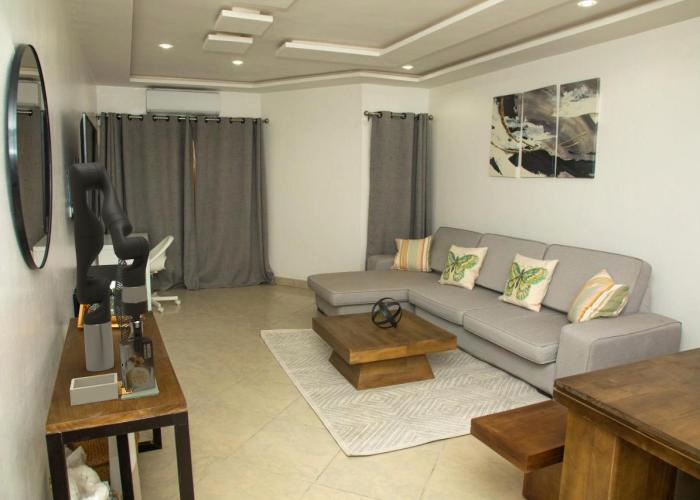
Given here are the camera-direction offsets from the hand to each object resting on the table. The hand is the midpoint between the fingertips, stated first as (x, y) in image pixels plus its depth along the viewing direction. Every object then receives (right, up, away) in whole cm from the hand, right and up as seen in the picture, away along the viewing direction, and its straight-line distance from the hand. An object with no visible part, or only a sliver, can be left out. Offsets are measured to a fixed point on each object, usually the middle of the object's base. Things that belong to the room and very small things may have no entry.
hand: (137, 347), depth 173 cm
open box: (-12, -15, -4) cm, 19 cm away
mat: (0, -14, +1) cm, 14 cm away
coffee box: (0, -14, +1) cm, 14 cm away
